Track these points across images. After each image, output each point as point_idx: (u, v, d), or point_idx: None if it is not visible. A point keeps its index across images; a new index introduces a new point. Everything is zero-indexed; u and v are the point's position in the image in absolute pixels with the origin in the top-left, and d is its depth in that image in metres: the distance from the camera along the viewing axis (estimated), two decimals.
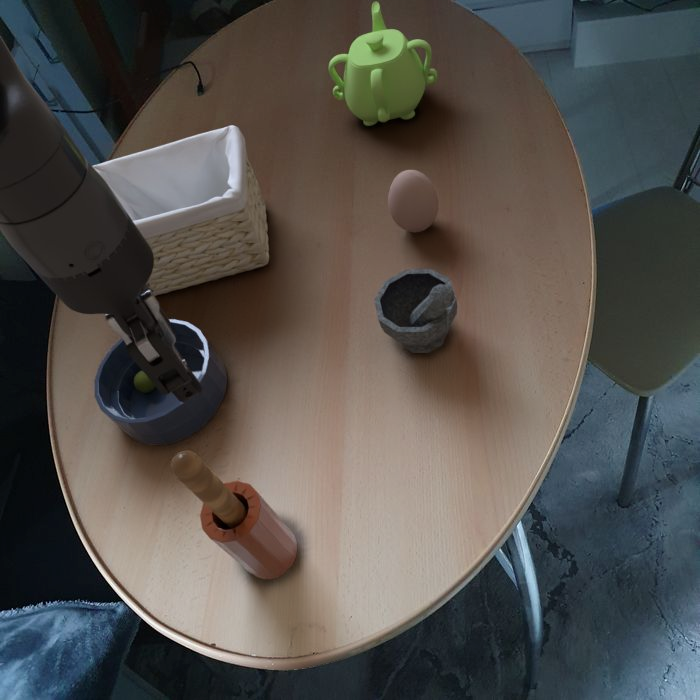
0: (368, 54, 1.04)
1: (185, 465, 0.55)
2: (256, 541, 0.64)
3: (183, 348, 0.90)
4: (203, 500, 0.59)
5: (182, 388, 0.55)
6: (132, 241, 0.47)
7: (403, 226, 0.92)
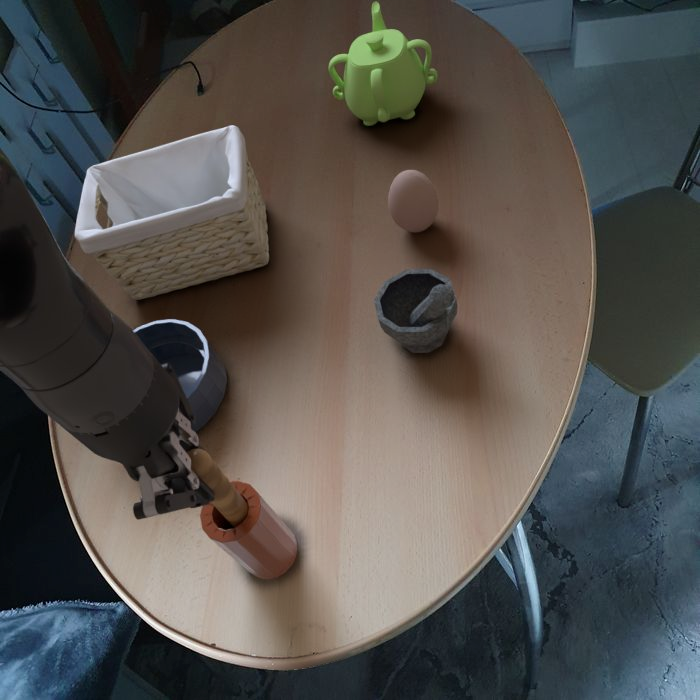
0: (368, 54, 1.04)
1: (196, 463, 0.55)
2: (256, 541, 0.64)
3: (183, 348, 0.90)
4: None
5: None
6: (150, 404, 0.45)
7: (403, 226, 0.92)
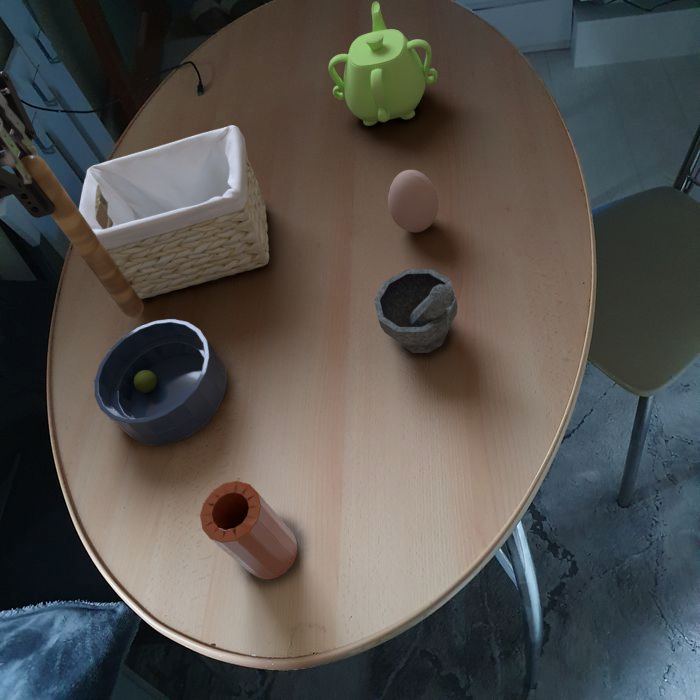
0: (368, 54, 1.04)
1: (30, 163, 0.59)
2: (256, 541, 0.64)
3: (183, 348, 0.90)
4: (55, 216, 0.63)
5: (27, 201, 0.60)
6: None
7: (403, 226, 0.92)
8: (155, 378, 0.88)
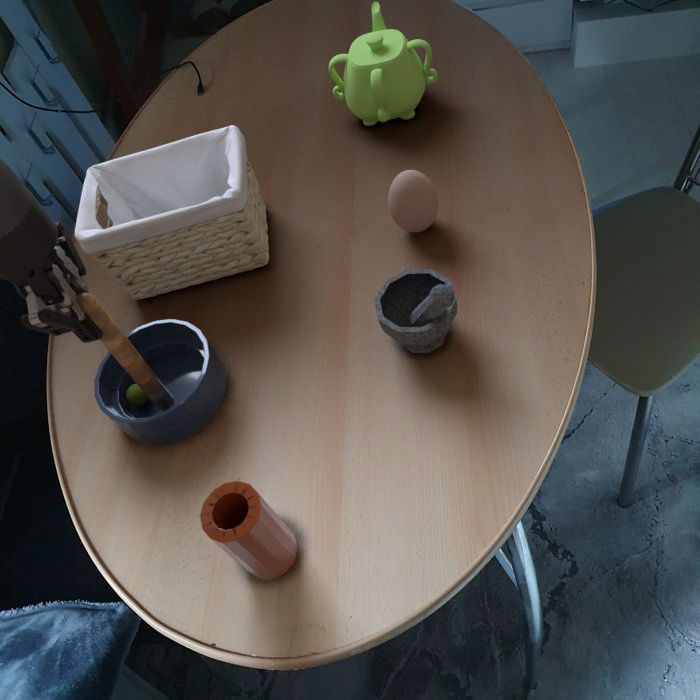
0: (368, 54, 1.04)
1: (83, 301, 0.69)
2: (256, 541, 0.64)
3: (183, 348, 0.90)
4: (102, 339, 0.73)
5: (80, 332, 0.69)
6: (28, 229, 0.58)
7: (403, 226, 0.92)
8: (138, 394, 0.86)
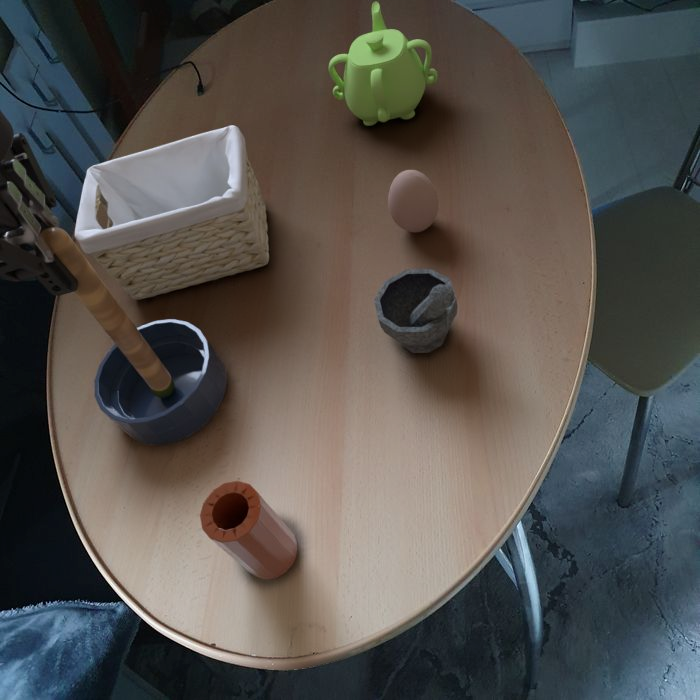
0: (368, 54, 1.04)
1: (52, 238, 0.52)
2: (256, 541, 0.64)
3: (183, 348, 0.90)
4: (78, 292, 0.56)
5: (47, 280, 0.53)
6: None
7: (403, 226, 0.92)
8: (170, 394, 0.88)
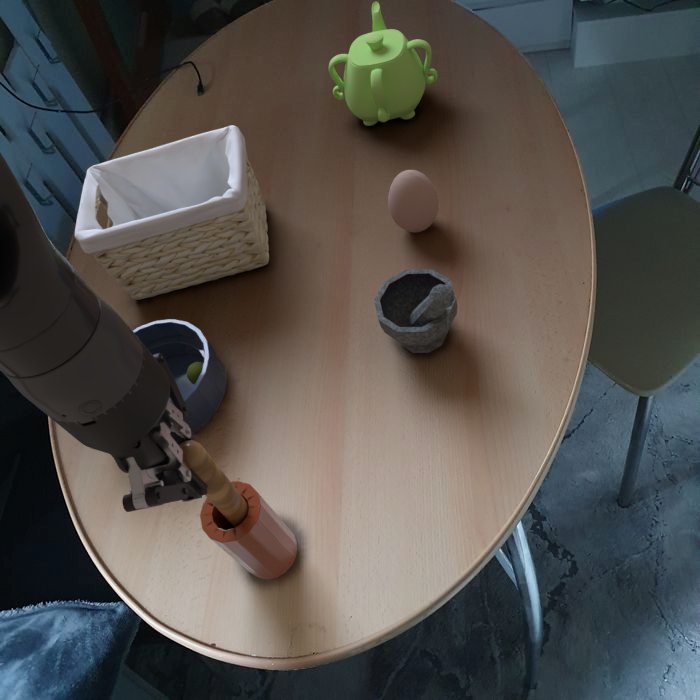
0: (368, 54, 1.04)
1: (190, 455, 0.54)
2: (256, 541, 0.64)
3: (183, 348, 0.90)
4: None
5: None
6: (139, 393, 0.43)
7: (403, 226, 0.92)
8: (193, 374, 0.86)
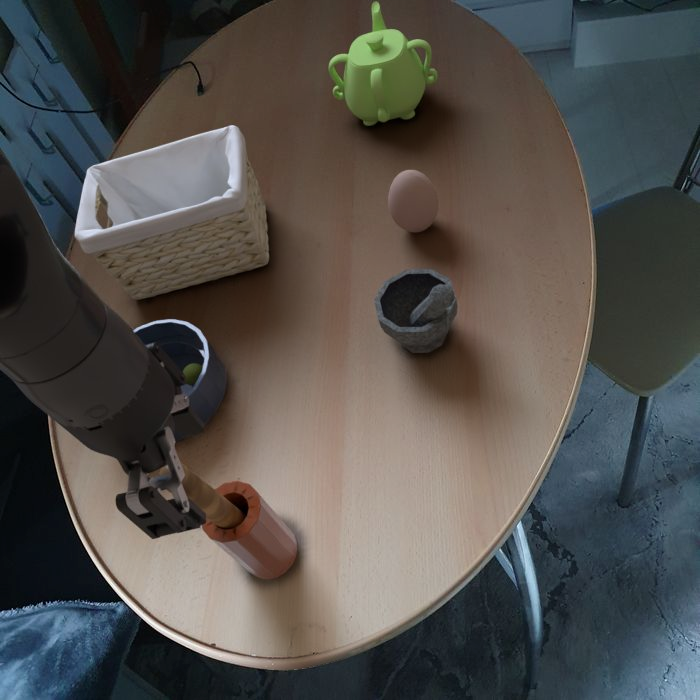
0: (368, 54, 1.04)
1: None
2: (256, 541, 0.64)
3: (183, 348, 0.90)
4: None
5: None
6: (145, 398, 0.44)
7: (403, 226, 0.92)
8: (187, 378, 0.86)
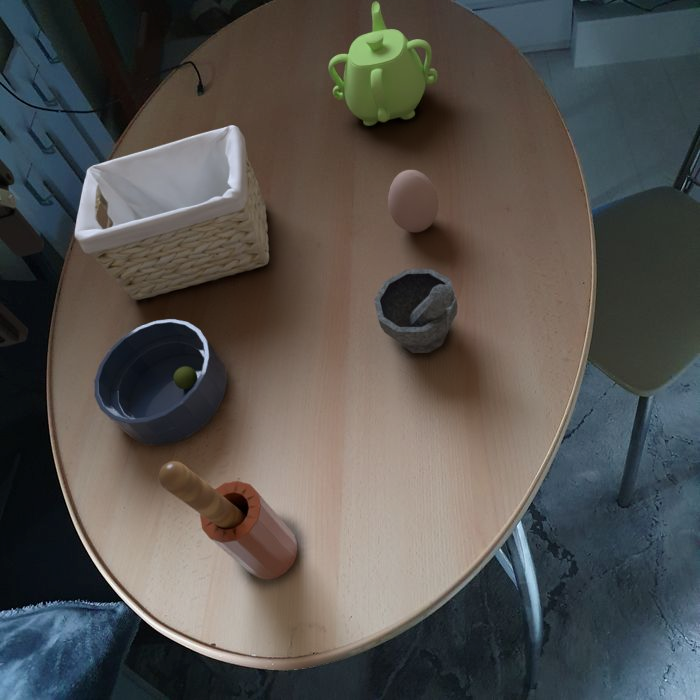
0: (368, 54, 1.04)
1: (172, 477, 0.55)
2: (256, 541, 0.64)
3: (183, 348, 0.90)
4: (195, 508, 0.59)
5: None
6: None
7: (403, 226, 0.92)
8: (177, 385, 0.87)
